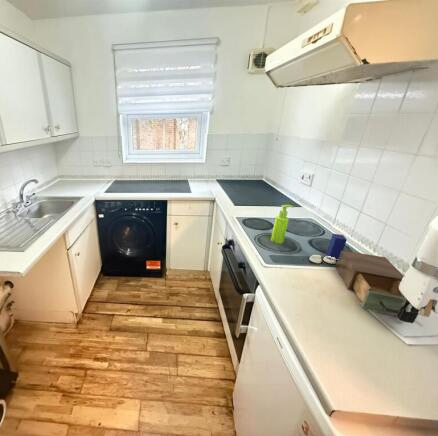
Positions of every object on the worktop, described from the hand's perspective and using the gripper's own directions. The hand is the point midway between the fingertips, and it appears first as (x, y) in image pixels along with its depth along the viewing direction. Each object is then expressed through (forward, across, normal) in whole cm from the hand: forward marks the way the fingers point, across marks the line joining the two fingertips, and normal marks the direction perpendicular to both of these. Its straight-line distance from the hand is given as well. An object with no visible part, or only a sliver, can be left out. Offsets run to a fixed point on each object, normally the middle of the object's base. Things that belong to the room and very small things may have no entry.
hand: (404, 319), depth 70 cm
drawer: (+4, +12, 0) cm, 13 cm away
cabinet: (+5, +26, 0) cm, 26 cm away
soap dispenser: (+5, +52, +28) cm, 59 cm away
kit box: (+5, +43, +6) cm, 43 cm away
